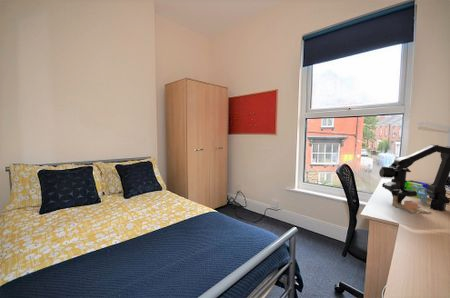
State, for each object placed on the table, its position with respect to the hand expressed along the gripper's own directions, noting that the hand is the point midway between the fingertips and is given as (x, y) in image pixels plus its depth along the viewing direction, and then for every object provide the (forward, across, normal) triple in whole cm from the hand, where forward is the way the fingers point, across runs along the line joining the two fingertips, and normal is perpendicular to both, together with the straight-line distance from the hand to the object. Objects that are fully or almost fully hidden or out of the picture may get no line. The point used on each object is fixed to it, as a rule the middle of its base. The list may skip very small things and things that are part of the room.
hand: (397, 202), depth 130 cm
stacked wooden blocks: (+2, +6, 0) cm, 6 cm away
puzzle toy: (+3, -19, +32) cm, 37 cm away
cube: (+1, +9, 0) cm, 9 cm away
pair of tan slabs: (+2, +7, +6) cm, 9 cm away
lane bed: (+3, +2, +3) cm, 5 cm away
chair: (+3, -6, +21) cm, 22 cm away
